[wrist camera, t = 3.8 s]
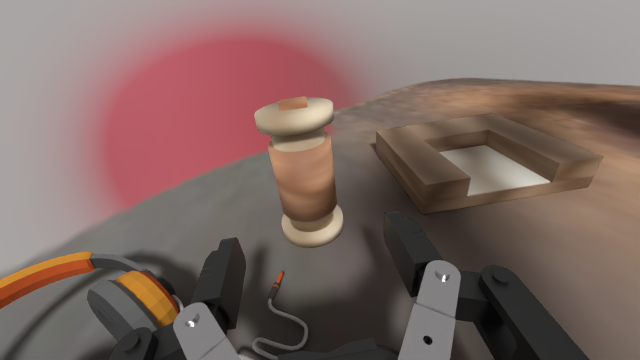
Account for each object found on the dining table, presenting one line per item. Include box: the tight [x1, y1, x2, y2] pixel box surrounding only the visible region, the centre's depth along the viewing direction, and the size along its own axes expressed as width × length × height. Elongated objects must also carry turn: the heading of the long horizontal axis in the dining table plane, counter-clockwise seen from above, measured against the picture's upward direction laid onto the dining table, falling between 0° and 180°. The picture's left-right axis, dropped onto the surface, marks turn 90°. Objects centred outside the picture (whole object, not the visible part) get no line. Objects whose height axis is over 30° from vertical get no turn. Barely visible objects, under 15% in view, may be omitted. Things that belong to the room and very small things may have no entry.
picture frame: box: [376, 113, 604, 214], centre depth 29 cm, size 16×14×3 cm
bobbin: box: [254, 96, 343, 248], centre depth 21 cm, size 6×6×12 cm
